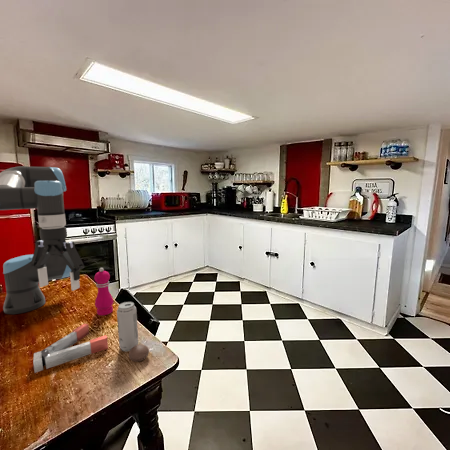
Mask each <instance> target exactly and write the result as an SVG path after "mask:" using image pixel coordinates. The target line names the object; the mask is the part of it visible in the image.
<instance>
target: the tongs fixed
mask: <svg viewBox="0 0 450 450" xmlns="http://www.w3.org/2000/svg"><path fill="white" fill-rule="evenodd" d="M108 341H109V340H108V336H107V334H105V335H102V336H99V337H95V338H93V339H89V341H86V342H83V343H80V344H77V345H74V346H73V345H72V346H70V347H69V348H67V349H64V350H60V351H57V352H54V353H51V354H49V351H48V349H46V348H44V349H42V350H41V351H37V352H34V353H33V361H32V362H33V370H34V374H36V373H39V372H41V371H44V367H45V368H46V370H48V369H50V368H53V367H56V366H60V365H62V364H65V363H67V362H71V361H74V360H77V359H79V358H83V357H86V356H88V355H92V354H96V353H99V352H101V351H105V350H107V349H109V344H108Z"/></svg>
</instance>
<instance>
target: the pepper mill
mask: <svg viewBox="0 0 450 450" xmlns="http://www.w3.org/2000/svg"><path fill="white" fill-rule="evenodd" d="M93 277H94V281H95V283H96V284H95V285H96V288H97V295H96V298H95V301H94V305H95V308H97V309H96V314H97V315H98V316H106V315H109V314H111V313H113V311H114V308H113V305H114V298H113V296H112V294H111V292H110V290H109V285H110V281H109V280H110V278H111V275H110V273H109V271H106V270H105V269H104V267H100V268H99V270H98V272H96V273H95V275H94V276H93Z"/></svg>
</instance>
